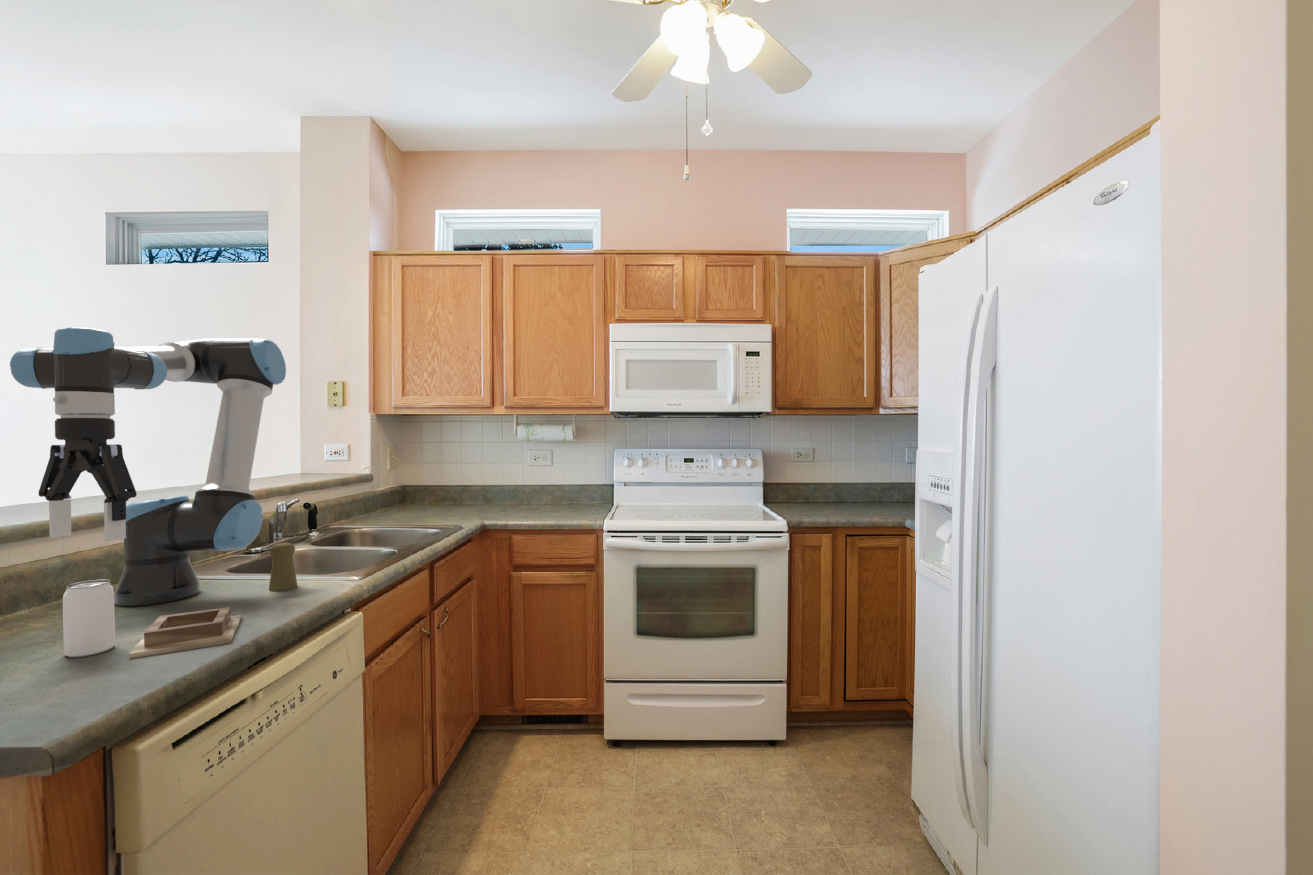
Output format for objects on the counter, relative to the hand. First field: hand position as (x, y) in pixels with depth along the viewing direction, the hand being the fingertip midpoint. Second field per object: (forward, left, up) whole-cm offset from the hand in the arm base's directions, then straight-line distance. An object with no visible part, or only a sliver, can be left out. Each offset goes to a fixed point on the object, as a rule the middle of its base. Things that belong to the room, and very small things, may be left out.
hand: (87, 538), depth 102 cm
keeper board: (0, +14, -20) cm, 24 cm away
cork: (-32, +27, -20) cm, 47 cm away
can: (0, 0, -20) cm, 20 cm away
